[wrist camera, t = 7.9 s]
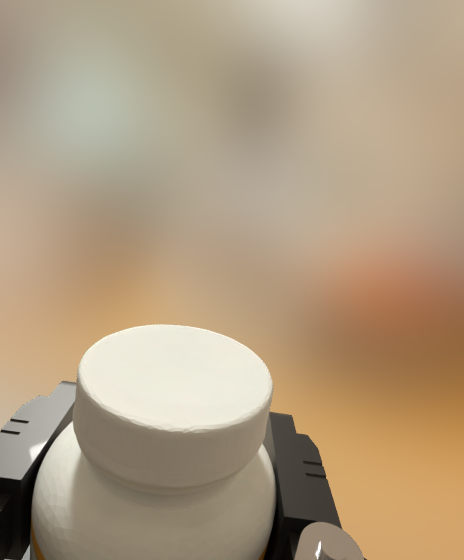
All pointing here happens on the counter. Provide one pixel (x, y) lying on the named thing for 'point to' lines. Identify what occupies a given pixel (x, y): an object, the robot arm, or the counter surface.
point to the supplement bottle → (160, 453)
